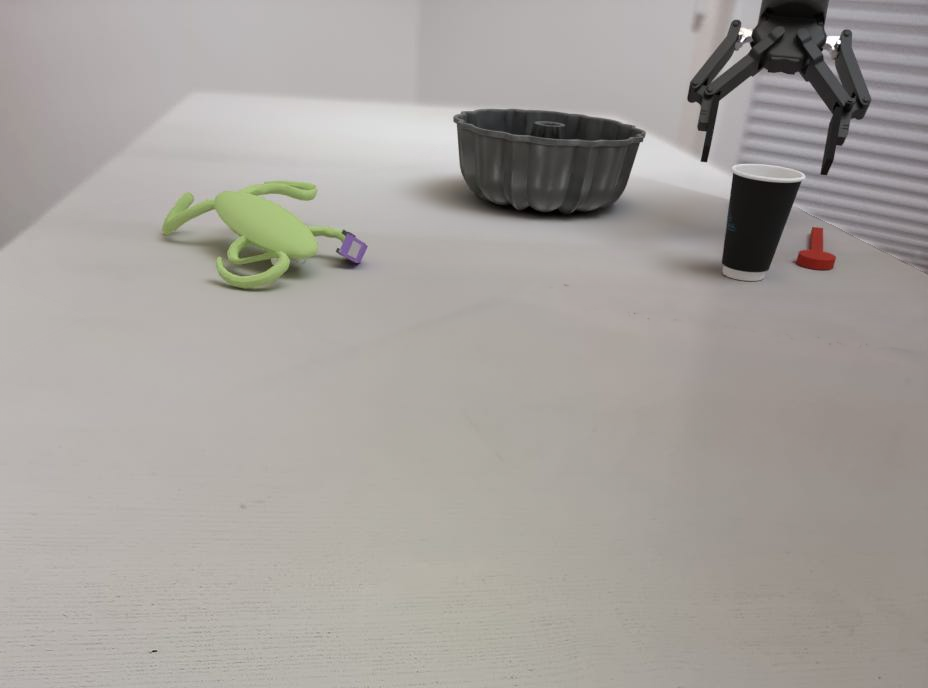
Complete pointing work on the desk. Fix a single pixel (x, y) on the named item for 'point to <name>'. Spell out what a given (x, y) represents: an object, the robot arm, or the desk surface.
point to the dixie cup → (757, 217)
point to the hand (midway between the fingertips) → (765, 161)
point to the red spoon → (816, 253)
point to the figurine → (264, 229)
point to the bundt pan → (545, 158)
